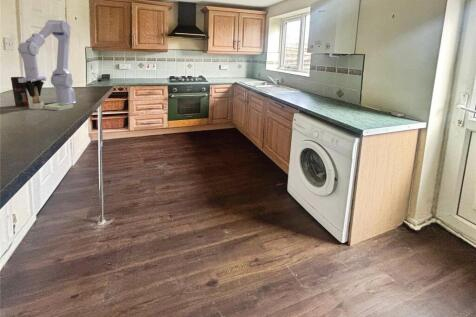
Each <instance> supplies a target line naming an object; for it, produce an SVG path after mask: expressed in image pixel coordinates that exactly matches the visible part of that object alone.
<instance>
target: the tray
mask: <svg viewBox="0 0 476 317" xmlns="http://www.w3.org/2000/svg"><path fill="white" fill-rule="evenodd" d="M71 108H75V103H68V104H67V103H49V104H44V106H43V108H42V109H43V110H51V111H63V110H68V109H71Z"/></svg>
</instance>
